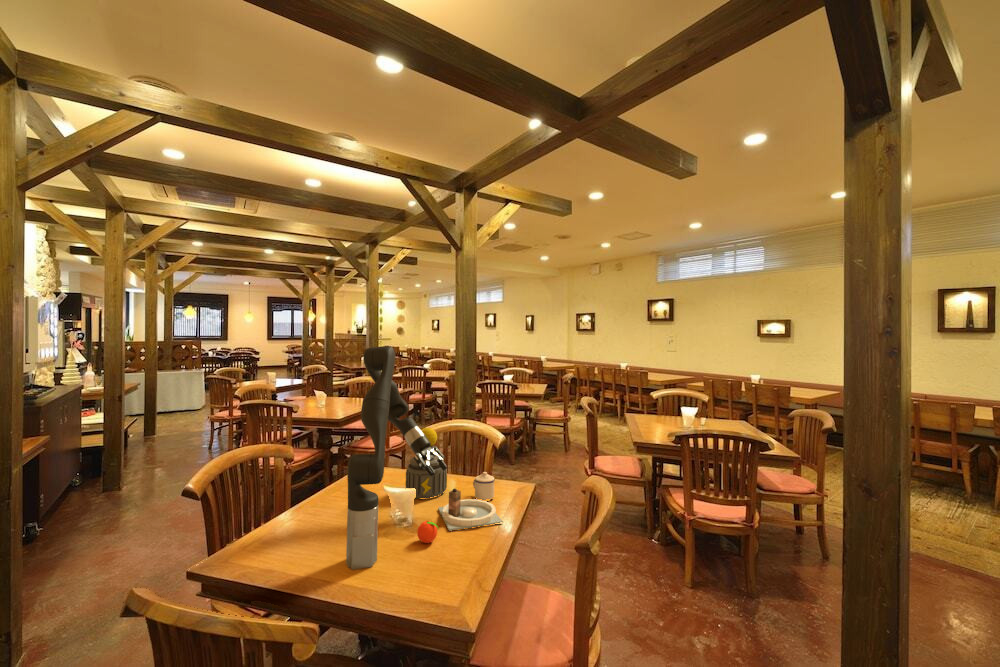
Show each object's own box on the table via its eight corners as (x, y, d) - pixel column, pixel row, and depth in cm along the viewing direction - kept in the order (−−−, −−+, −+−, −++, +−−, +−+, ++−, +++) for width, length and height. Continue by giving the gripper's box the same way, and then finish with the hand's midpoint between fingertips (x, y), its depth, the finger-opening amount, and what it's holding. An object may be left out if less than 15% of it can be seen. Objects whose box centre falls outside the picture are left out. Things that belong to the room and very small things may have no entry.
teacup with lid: (498, 498, 180) (499, 472, 181) (483, 504, 174) (484, 476, 174) (480, 491, 189) (481, 466, 189) (465, 496, 182) (466, 470, 183)
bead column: (460, 515, 160) (460, 487, 160) (455, 518, 156) (456, 490, 157) (453, 513, 161) (453, 486, 161) (448, 516, 158) (448, 489, 158)
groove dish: (502, 524, 154) (502, 516, 154) (449, 531, 147) (449, 523, 147) (486, 503, 174) (486, 496, 174) (438, 509, 167) (438, 502, 167)
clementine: (443, 539, 142) (443, 518, 142) (434, 548, 135) (435, 527, 135) (422, 536, 144) (422, 516, 144) (413, 545, 137) (413, 524, 137)
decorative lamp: (406, 486, 194) (407, 424, 195) (445, 484, 198) (446, 423, 199) (404, 501, 176) (405, 432, 177) (447, 499, 179) (448, 431, 180)
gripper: (411, 438, 160) (435, 471, 155) (432, 431, 173) (454, 462, 168) (401, 449, 163) (423, 482, 157) (422, 442, 175) (443, 472, 170)
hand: (439, 472), depth 163 cm, fingers open, 8 cm apart
